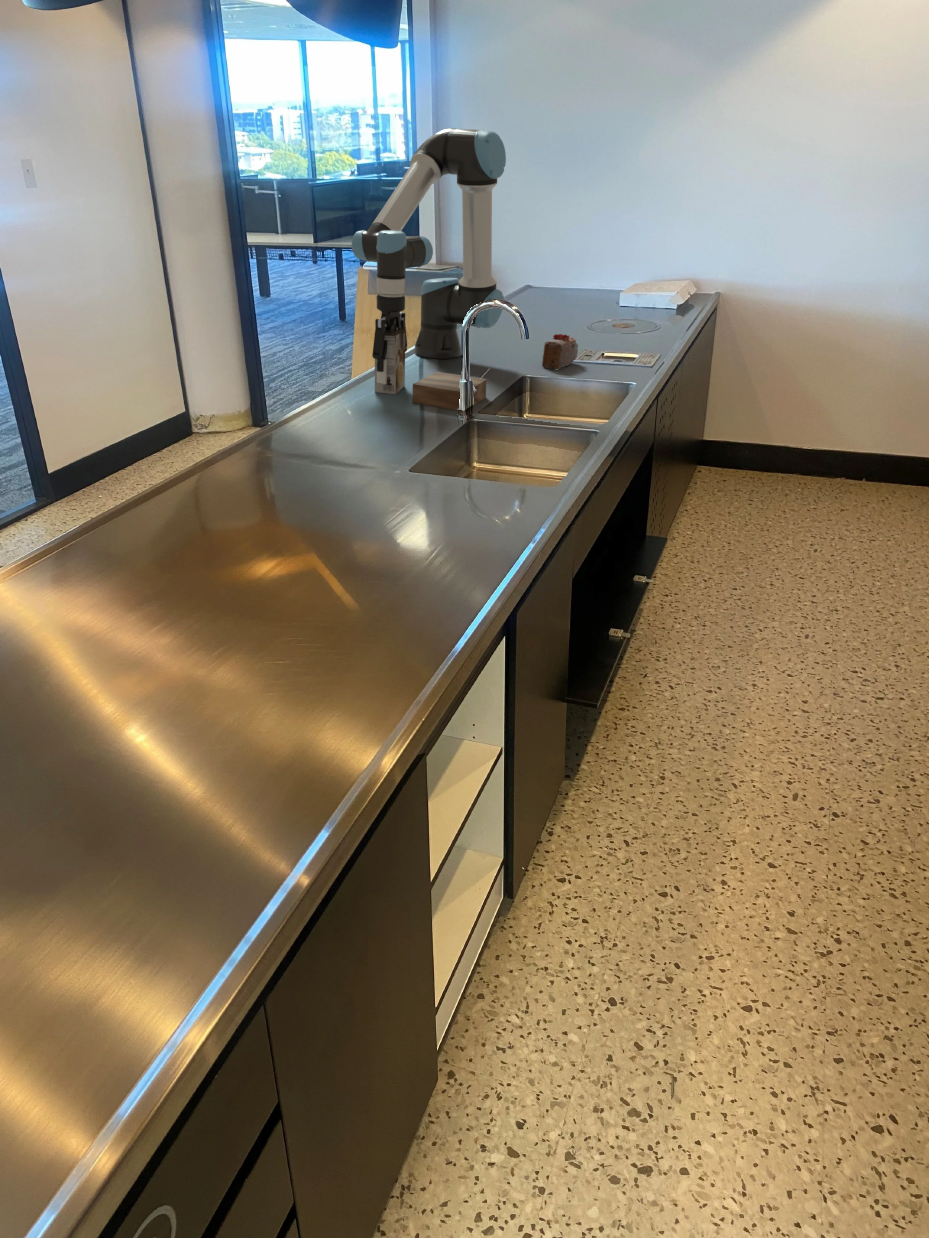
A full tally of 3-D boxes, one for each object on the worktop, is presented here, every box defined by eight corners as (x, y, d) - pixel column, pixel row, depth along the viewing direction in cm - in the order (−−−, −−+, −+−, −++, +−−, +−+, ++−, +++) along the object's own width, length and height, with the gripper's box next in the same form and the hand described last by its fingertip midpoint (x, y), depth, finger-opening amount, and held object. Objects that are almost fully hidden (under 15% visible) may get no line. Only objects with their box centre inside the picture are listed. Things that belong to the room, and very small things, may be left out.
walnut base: (436, 389, 249) (436, 371, 247) (485, 397, 245) (486, 379, 242) (412, 402, 236) (412, 384, 234) (464, 411, 232) (465, 392, 229)
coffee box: (383, 384, 251) (383, 326, 243) (405, 386, 250) (406, 328, 242) (373, 392, 243) (374, 332, 235) (396, 394, 242) (397, 334, 234)
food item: (555, 360, 290) (558, 328, 285) (577, 363, 287) (581, 332, 282) (539, 367, 279) (542, 335, 274) (563, 371, 276) (566, 339, 271)
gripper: (396, 287, 245) (395, 369, 256) (358, 298, 226) (359, 386, 237) (421, 290, 242) (418, 372, 253) (385, 302, 224) (384, 390, 235)
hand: (389, 379), depth 245 cm, fingers closed on coffee box, 10 cm apart
